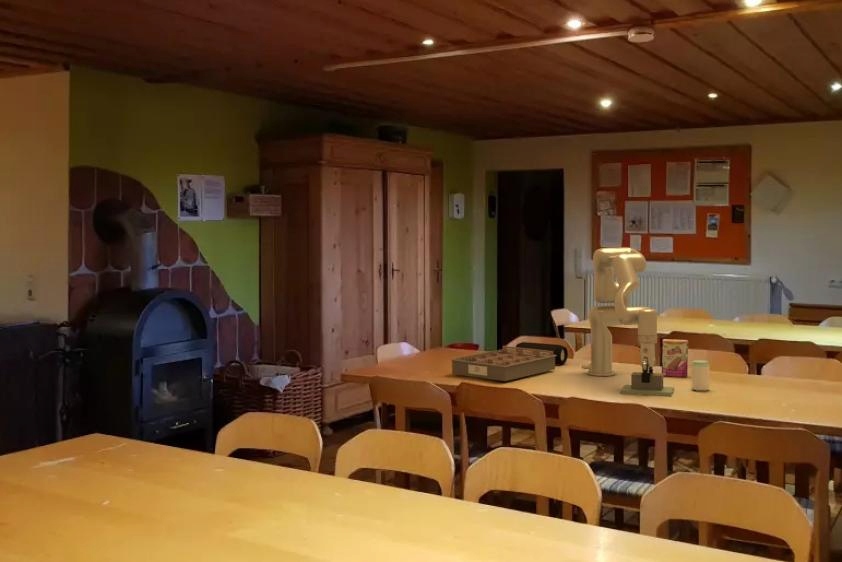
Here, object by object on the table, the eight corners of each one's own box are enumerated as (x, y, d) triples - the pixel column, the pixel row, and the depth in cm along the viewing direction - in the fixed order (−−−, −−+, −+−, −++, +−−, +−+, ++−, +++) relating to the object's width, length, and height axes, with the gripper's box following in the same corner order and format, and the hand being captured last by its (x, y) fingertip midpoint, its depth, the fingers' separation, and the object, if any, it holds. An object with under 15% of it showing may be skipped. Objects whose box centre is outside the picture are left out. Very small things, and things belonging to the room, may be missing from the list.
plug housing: (631, 388, 350) (631, 374, 349) (633, 386, 355) (633, 372, 355) (661, 390, 345) (661, 375, 345) (663, 387, 351) (663, 373, 350)
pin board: (620, 393, 348) (620, 381, 348) (624, 388, 360) (624, 376, 359) (671, 396, 341) (671, 384, 341) (674, 390, 352) (674, 378, 352)
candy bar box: (661, 376, 384) (661, 340, 383) (662, 374, 389) (662, 339, 388) (687, 377, 380) (687, 341, 379) (688, 375, 385) (688, 339, 384)
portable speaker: (513, 362, 430) (513, 342, 429) (523, 359, 438) (522, 340, 438) (559, 366, 415) (559, 346, 415) (568, 363, 424) (568, 343, 423)
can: (712, 391, 350) (712, 362, 349) (695, 391, 349) (695, 362, 348) (705, 388, 357) (705, 359, 356) (688, 388, 356) (689, 360, 355)
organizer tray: (449, 376, 394) (449, 355, 394) (503, 365, 423) (503, 345, 423) (505, 384, 373) (504, 362, 372) (557, 372, 401) (557, 351, 401)
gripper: (654, 342, 339) (654, 384, 341) (659, 336, 355) (659, 377, 357) (634, 341, 342) (634, 383, 343) (640, 336, 358) (640, 376, 359)
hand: (647, 380), depth 350 cm, fingers open, 9 cm apart
